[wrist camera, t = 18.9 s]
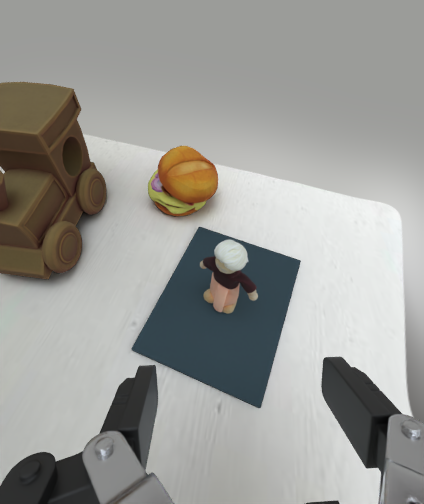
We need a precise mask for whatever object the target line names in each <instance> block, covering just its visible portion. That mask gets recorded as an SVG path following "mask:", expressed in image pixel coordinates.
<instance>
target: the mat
mask: <svg viewBox="0 0 424 504" xmlns="http://www.w3.org/2000/svg"><path fill="white" fill-rule="evenodd" d="M229 239H230V240H234V241H235V242H237V243H239V244H241V245H242V246H243V247H244V248H245V249H246V251H247V257H248V261H249V262H247V263H246V265H245V267H244V268H242V269H241V271H242V273H244V274H245V275H247V276H248V277H249V278H250V280H251V281H252V282H253V283H254V284H255V285H256V287H257V288H256V293H257V294H258V298H257V299H256V300H254V301H252V300H250V299H249V295H248V294H247V292H246V291H245V290H244V289H243V287H242V286H241V284H240V285H239V296H238V299H237V303H236V306H235V308H234V310H233V312H232V313H229V314H226V313H224V312H218V311H216V310H215V308H214V307H213V303H208V302H207V301H206V300H205V299H204V296H203V295H204V292H205V291H206V290H208V289H210V284H211V279H212V273H213V271H211V270H209V269H208V268H206V269H202V268H201V267H200V262H201V261H203V259H204V258H206V257H212V256H215V253H214V250H215V248H216V246H217V245H218V244H219V243H221V242H223V241H225V240H229ZM300 262H301V261H300V260H297V259H294V258H291V257H288V256H285V255H282V254H279V253H276V252H273V251H270V250H267V249H264V248H261V247H258V246H255V245H252V244H249V243H246V242H244V241H241V240H238V239H235V238H232V237H229V236H226V235H223V234H220V233H217V232H214V231H211V230H208V229H205V228H202V227H199V228H198V230H197V231H196V233H195V235H194V237H193V239H192V240H191V242H190V244H189V246H188V248H187V249H186V251H185V253H184V255H183V257H182V259H181V260H180V262H179V264H178V266H177V268H176V269H175V271H174V273H173V275H172V277H171V278H170V280H169V282H168V284H167V286H166V287H165V289H164V291H163V293H162V295H161V296H160V298H159V300H158V302H157V304H156V306H155V307H154V309H153V311H152V313H151V315H150V316H149V318H148V320H147V322H146V324H145V325H144V327H143V329H142V331H141V333H140V334H139V336H138V338H137V340H136V342H135V343H134V345H133V347H132V350H133V351H135V352H137V353H139V354H141V355H144V356H146V357H148V358H150V359H152V360H155V361H157V362H159V363H161V364H163V365H166V366H168V367H170V368H172V369H174V370H177V371H179V372H181V373H183V374H185V375H188V376H190V377H192V378H194V379H196V380H199V381H201V382H203V383H205V384H207V385H210V386H212V387H214V388H216V389H218V390H220V391H223V392H225V393H227V394H229V395H231V396H234V397H236V398H238V399H240V400H242V401H245V402H247V403H249V404H251V405H253V406H256V407H258V408H261V404H262V401H263V397H264V393H265V390H266V386H267V383H268V379H269V375H270V372H271V368H272V364H273V361H274V357H275V353H276V350H277V346H278V342H279V339H280V335H281V331H282V328H283V324H284V320H285V317H286V313H287V309H288V306H289V302H290V298H291V295H292V291H293V287H294V284H295V280H296V276H297V273H298V269H299V265H300Z"/></svg>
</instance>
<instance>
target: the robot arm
mask: <svg viewBox="0 0 424 504" xmlns="http://www.w3.org/2000/svg"><path fill="white" fill-rule="evenodd" d="M321 387H322V394H323V397H324V399H325V401H326V403H327V405H328V406H329V408H330V409H331V411H332V413H333V414H334V416H335V418H336V419H337V421H338V423H339V424H340V426H341V428H342V429H343V431H344V432H345V434H346V436H347V437H348V439H349V441H350V442H351V444H352V446H353V447H354V449H355V451H356V452H357V454H358V456H359V457H360V459H361V460H362V462H363V464H364V465H365V467H366V468H379V470H380V471H381V479H380V490H379V502H378V504H424V423H423V422H421V421H420V420H418V419H416V418H413V417H411V416H408V415H403V414H402V413H401V412H400V411H399V410H398V409H397V408H396V407H395V406H394V405H393V403H392V402H391V401H390V400H389V399H388V398H387V397H386V396H385V395H384V394H383V393H382V391H380V390H379V388H378V387H377V386H376V385H375V384H373V382H372V381H371V380H370V378H369V377H368V376H367V375H366V374H365V373H363V372H361V371H360V370H358V369H357V368H355V367H350V365H349V364H348V363H347V362H346V361H345V360H344V359H343V358H342V357H325V358H324V360H323V371H322V386H321ZM157 405H158V389H157V376H156V366H155V365H149V366H139V367H138V370H137V373H136V376H135V378H127V379H126V380H125V381H124V382H123V383H122V384H121V385H120V386H119V387H118V390H117V392H116V395H115V397H114V400H113V402H112V405H111V407H110V409H109V412H108V414H107V417H106V419H105V421H104V424H103V426H102V429H101V431H100V434H98V435H97V436H95V437H94V438H92V439H91V440H90V441H89V442H88V443H87V445H86V446H85V448H84V450H83V451H82V452H81V453H79V454H76V455H74V456H71V457H68V458H65V459H62V460H59V461H55V457H54V456H53V455H52V454H50V453H47V452H40V453H36V454H33V455H30V456H28V457H26V458H24V459H23V460H21V461H20V462H19V463H17V464H16V465H15V466H14V467H13V468H12V469H11V470H10V472H9V473H8V474H7V476H6V478H5V479H4V481H3V482H2V484H1V486H0V504H174V502H173V501H172V499H171V498H170V496H169V495H168V493H167V492H166V490H165V488H164V487H163V485H162V484H161V482H160V481H159V479H158V478H157V476H156V475H155V474H154V473H151V474H149V475H148V474H147V473H146V472H145V469H146V464H147V459H148V454H149V449H150V443H151V438H152V433H153V428H154V422H155V417H156V412H157ZM306 504H339V502H338V501H325V502H311V503H306Z"/></svg>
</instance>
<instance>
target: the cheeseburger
mask: <svg viewBox="0 0 424 504" xmlns="http://www.w3.org/2000/svg"><path fill="white" fill-rule="evenodd" d="M217 186H218V174H217V171H216V168H215V166H214V165H213V164H212V163H211V162H210V161H209V160H207V159H206V158H204V157H203V156H202V155H201V154H200V153H199V152H197V151H196V150H194V149H193V148H190V147H188V146H180V147H176V148H173V149H171V150H170V151H168V152H167V153H166V154H165V155H164V156H162V158H161V160H160V162H159V165H158V170H157V171H156V172H155V173H154V174H153V176H152V177H151V179H150V181H149V183H148V193H149V196H150V198H151V199H152V200H153V201H154V203H155V205H156V206H157V208H159V209H160V210H161V211H163V212H164V213H165V214H169V215H173V216H185V215H189V214H191V213H193V212H196V211H197V210H199V209H201V208H202V207H203V206H204V205H205V204H206V201H207V200H208V199H210V198H211V197H212V196H213V195H214V194H215V192H216V190H217Z"/></svg>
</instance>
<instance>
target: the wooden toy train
mask: <svg viewBox="0 0 424 504" xmlns="http://www.w3.org/2000/svg"><path fill="white" fill-rule="evenodd" d="M80 111H81V107H80V105H79V102H78V100H77V97H76V95H75V92H74V89H71V88H66V87H61V86H56V85H51V84H40V83H28V82H11V83H9V82H8V83H0V166H1V167H2V169H3V170H4V171H5V173H4V174H3V173H2V172H1V171H0V273H4V274H11V275H19V276H26V277H34V278H41V279H49V277H50V275H51V273H52V271H54V272H56V273H63V272H66V271H68V270H70V269H71V268H72V267H73V266H74V265H75V264H76V263H77V261H78V259H79V257H80V254H81V248H82V239H81V235H80V232H79V230H78V229H77V227H76V225H77V223H78V221H79V219H80V217H81V215H82V213H83V212H85V213H87V214H89V215H93V214H96V213H98V212H99V211H100V210H101V209H102V208H103V206H104V203H105V200H106V184H105V180H104V178H103V176H102V175H101V173H100V172H98V171H97V169H96V166H95V164H94V162H90V159H89V154H88V150H87V146H86V143H85V140H84V137H83V134H82V131H81V128H80V126H79V124H78V121H77V117H78V115H79V113H80Z"/></svg>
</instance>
